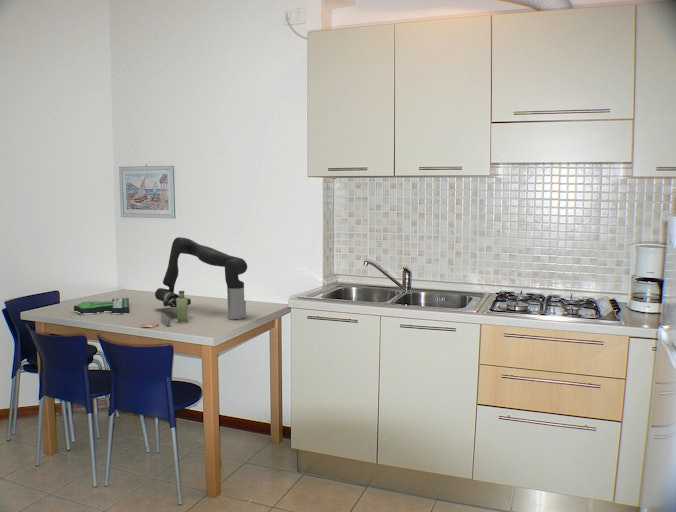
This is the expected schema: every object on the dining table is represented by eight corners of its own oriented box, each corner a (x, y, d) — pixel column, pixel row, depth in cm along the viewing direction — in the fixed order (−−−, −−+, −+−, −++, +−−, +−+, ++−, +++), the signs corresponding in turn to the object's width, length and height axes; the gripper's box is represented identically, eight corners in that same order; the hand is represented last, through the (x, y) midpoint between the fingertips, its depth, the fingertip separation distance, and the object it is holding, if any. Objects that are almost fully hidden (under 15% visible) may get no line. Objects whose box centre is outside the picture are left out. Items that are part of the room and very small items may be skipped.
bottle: (186, 320, 309) (185, 289, 307) (189, 322, 304) (188, 291, 302) (175, 321, 306) (174, 290, 304) (178, 323, 301) (177, 292, 299)
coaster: (155, 323, 302) (155, 322, 302) (160, 326, 295) (160, 325, 294) (138, 325, 297) (138, 324, 297) (142, 328, 290) (142, 327, 290)
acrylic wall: (163, 321, 307) (162, 313, 306) (170, 326, 295) (170, 319, 294) (161, 321, 306) (161, 314, 306) (168, 326, 294) (168, 319, 294)
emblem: (129, 307, 324) (71, 311, 313) (129, 314, 324) (71, 318, 314) (128, 297, 352) (75, 300, 341) (128, 304, 352) (76, 307, 342)
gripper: (159, 294, 316) (167, 299, 302) (184, 291, 323) (193, 296, 310) (159, 307, 317) (167, 312, 303) (184, 304, 324) (193, 309, 311)
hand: (180, 304), depth 306 cm, fingers open, 8 cm apart
